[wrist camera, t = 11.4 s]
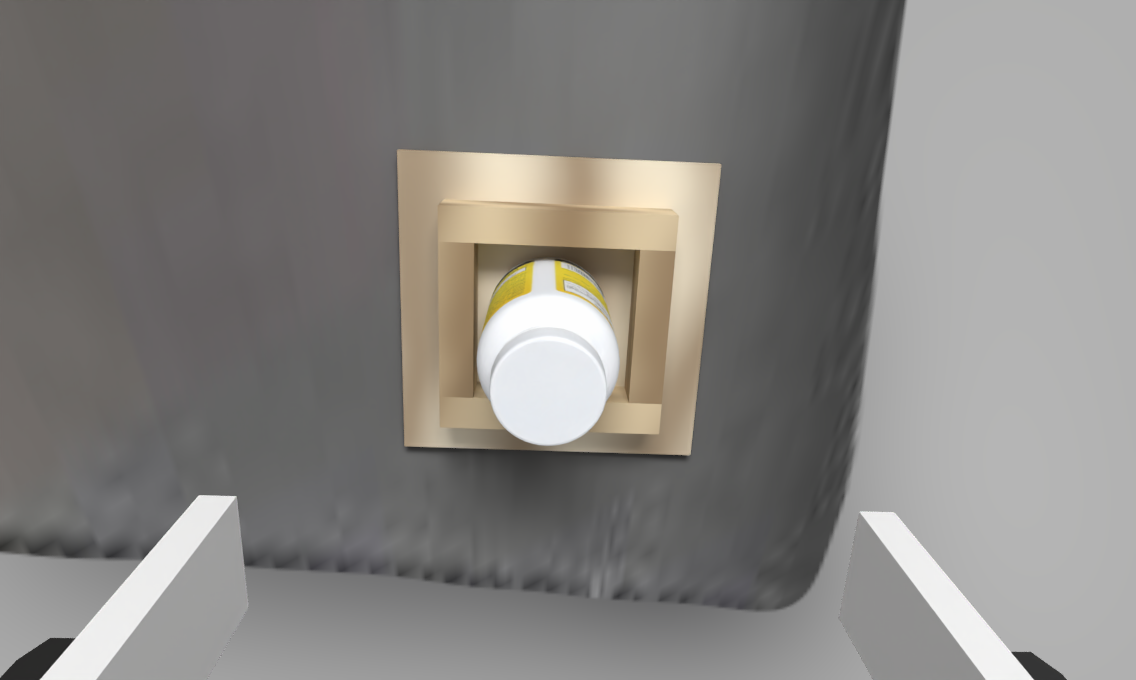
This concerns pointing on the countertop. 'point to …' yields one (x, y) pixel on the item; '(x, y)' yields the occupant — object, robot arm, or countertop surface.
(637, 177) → the beige square tray
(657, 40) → the countertop surface
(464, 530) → the countertop surface
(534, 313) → the supplement bottle
